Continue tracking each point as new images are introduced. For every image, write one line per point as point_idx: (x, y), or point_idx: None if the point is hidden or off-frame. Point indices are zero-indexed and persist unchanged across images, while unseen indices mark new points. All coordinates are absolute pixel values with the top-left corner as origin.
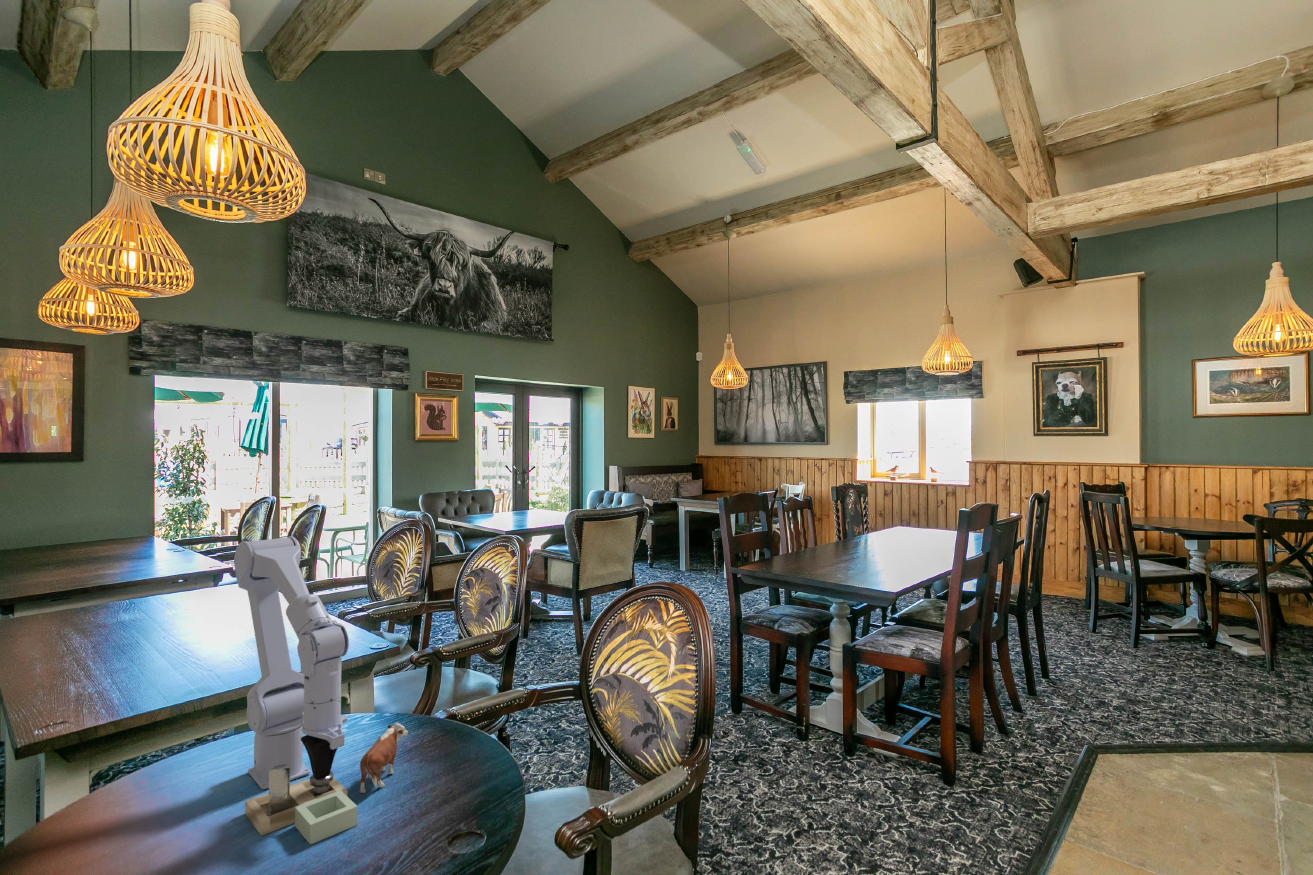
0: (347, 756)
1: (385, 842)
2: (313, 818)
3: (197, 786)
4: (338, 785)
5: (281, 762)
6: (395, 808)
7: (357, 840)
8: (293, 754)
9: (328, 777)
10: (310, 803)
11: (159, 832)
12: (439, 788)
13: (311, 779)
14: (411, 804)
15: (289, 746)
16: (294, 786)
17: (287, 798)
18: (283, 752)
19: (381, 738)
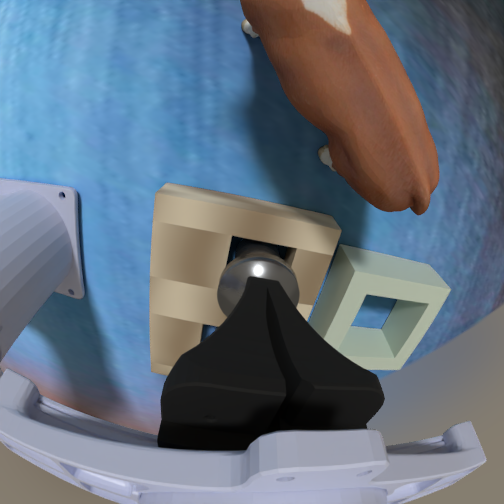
0: (63, 63)
1: (496, 267)
2: (388, 360)
3: None
4: (284, 226)
5: (47, 288)
6: (462, 176)
7: (456, 291)
8: (33, 263)
9: (292, 290)
10: (332, 344)
11: (126, 408)
12: (482, 60)
13: None
14: (480, 146)
15: (20, 296)
16: (167, 297)
17: None
18: (32, 302)
19: (324, 15)
